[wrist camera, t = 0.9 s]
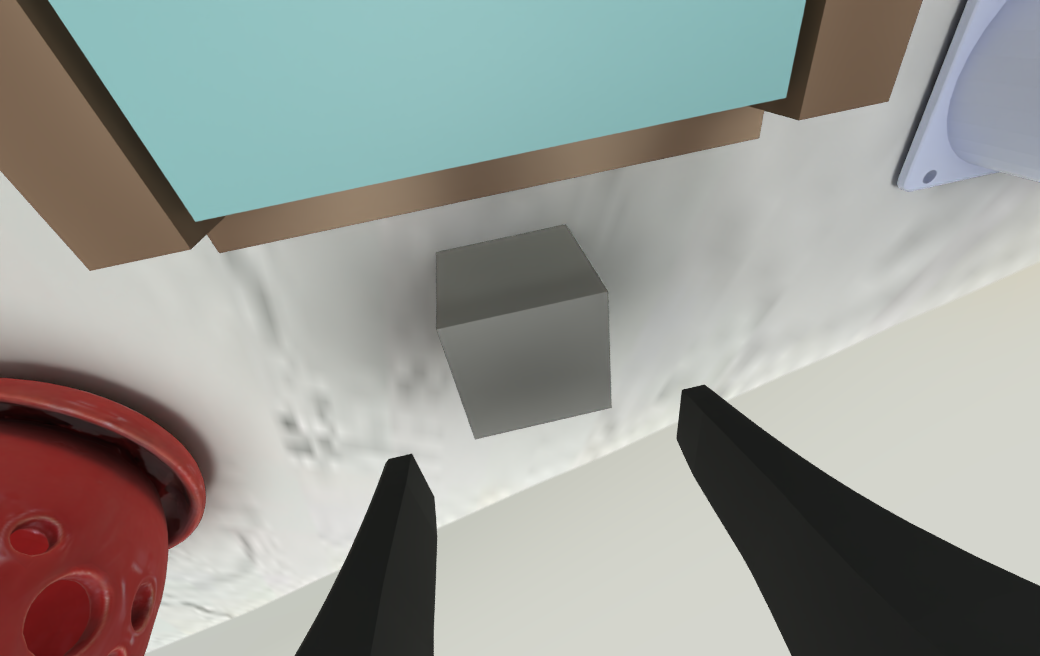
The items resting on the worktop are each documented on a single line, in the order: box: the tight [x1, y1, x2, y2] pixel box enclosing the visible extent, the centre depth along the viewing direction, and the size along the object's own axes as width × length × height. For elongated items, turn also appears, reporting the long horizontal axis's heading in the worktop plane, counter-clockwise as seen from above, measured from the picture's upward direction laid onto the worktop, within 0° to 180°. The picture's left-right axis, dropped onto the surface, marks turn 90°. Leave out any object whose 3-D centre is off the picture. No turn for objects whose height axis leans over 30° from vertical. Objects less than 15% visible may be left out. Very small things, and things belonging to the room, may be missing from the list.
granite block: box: [436, 224, 612, 439], centre depth 15 cm, size 5×5×5 cm
